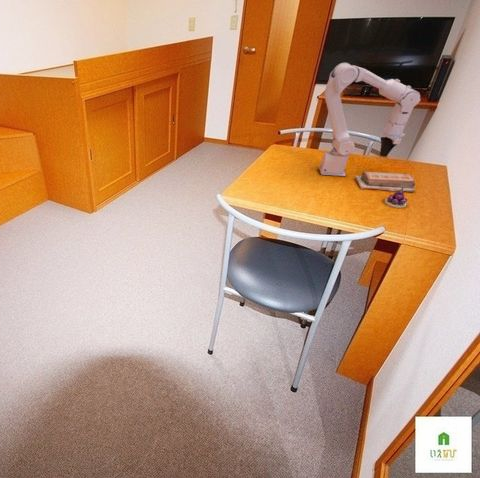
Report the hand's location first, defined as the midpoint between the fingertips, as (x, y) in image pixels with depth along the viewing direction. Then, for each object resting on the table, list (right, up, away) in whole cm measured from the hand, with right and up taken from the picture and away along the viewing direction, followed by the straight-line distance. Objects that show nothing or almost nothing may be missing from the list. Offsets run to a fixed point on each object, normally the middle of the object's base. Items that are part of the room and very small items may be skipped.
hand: (383, 155), depth 134 cm
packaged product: (-3, -13, -4) cm, 14 cm away
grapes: (-9, -22, -16) cm, 28 cm away
